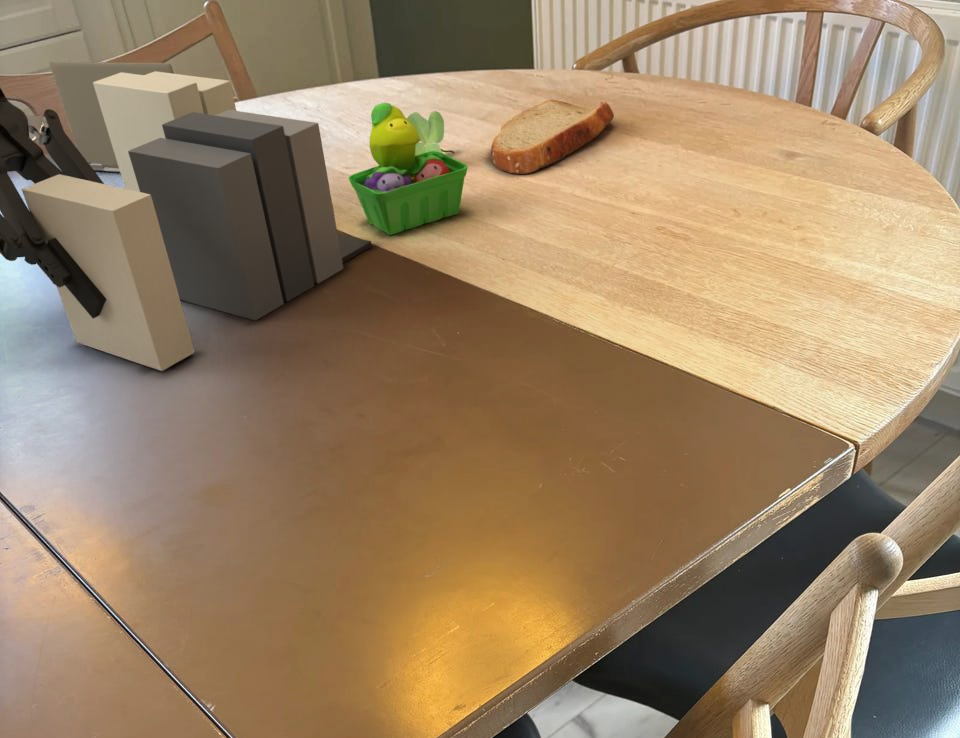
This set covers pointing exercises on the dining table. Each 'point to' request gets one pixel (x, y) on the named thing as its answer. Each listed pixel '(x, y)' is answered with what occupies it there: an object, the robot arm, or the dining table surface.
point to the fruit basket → (406, 177)
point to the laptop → (93, 105)
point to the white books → (153, 108)
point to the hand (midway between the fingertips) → (120, 298)
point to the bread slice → (546, 135)
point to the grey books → (243, 209)
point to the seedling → (428, 132)
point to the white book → (115, 268)
